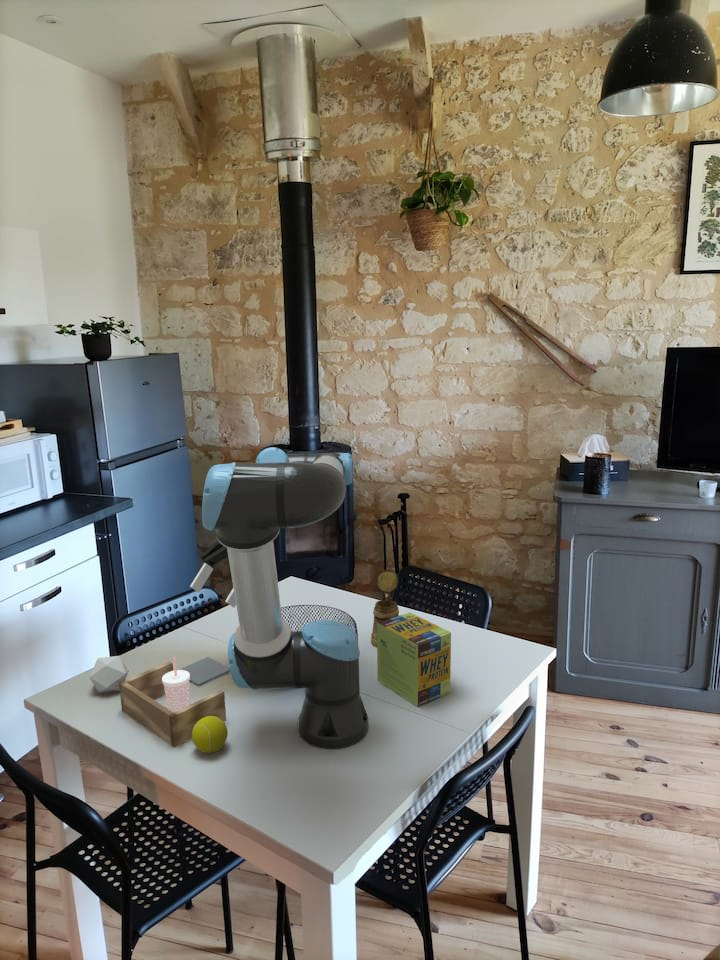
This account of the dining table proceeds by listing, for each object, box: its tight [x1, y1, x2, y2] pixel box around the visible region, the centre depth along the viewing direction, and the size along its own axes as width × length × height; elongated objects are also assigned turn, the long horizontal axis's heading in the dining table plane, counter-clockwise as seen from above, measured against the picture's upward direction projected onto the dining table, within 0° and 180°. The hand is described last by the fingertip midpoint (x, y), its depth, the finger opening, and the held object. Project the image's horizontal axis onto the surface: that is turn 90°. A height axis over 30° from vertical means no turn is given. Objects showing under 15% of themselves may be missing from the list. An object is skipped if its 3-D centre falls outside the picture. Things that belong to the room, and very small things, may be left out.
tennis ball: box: [191, 716, 229, 754], centre depth 142 cm, size 7×7×7 cm
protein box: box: [376, 612, 452, 708], centre depth 164 cm, size 10×15×16 cm
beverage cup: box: [162, 655, 190, 713], centre depth 155 cm, size 6×6×14 cm
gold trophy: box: [370, 568, 400, 648], centre depth 190 cm, size 9×14×18 cm, turn 173°
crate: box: [119, 661, 227, 748], centre depth 155 cm, size 13×21×7 cm, turn 48°
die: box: [89, 655, 129, 694], centre depth 167 cm, size 8×9×10 cm
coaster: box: [178, 656, 230, 687], centre depth 175 cm, size 10×10×1 cm
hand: (211, 597), depth 160 cm, fingers open, 13 cm apart
